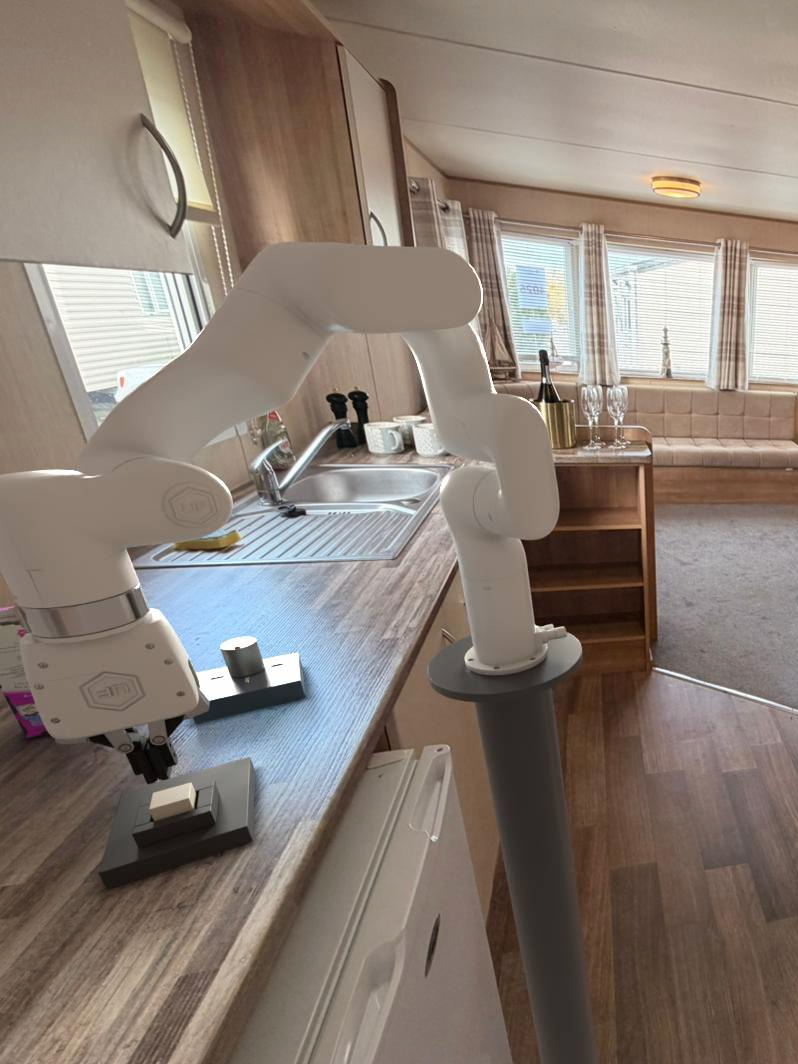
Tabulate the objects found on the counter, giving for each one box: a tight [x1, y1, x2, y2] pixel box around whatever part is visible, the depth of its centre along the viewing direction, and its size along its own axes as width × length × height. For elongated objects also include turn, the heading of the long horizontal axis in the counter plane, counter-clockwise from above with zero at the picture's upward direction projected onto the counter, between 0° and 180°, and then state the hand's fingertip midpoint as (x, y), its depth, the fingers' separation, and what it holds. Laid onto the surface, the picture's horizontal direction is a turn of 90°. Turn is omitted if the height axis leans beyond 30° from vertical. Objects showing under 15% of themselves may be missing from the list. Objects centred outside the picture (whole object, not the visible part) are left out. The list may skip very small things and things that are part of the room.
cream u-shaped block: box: [149, 783, 197, 821], centre depth 66 cm, size 3×3×2 cm
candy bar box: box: [0, 605, 50, 739], centre depth 82 cm, size 11×5×16 cm, turn 123°
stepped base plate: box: [98, 756, 256, 891], centre depth 68 cm, size 11×14×4 cm
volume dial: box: [219, 636, 265, 677], centre depth 92 cm, size 4×4×5 cm
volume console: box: [192, 652, 307, 725], centre depth 92 cm, size 12×11×3 cm
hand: (160, 774), depth 65 cm, fingers closed
